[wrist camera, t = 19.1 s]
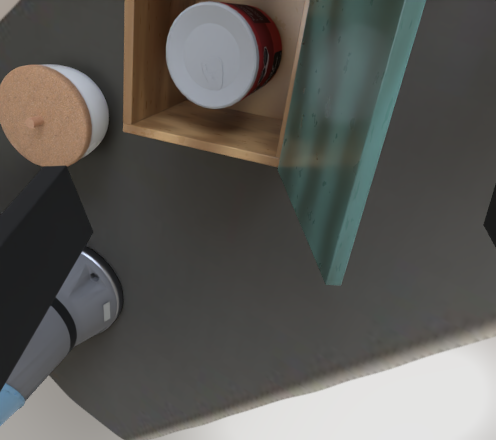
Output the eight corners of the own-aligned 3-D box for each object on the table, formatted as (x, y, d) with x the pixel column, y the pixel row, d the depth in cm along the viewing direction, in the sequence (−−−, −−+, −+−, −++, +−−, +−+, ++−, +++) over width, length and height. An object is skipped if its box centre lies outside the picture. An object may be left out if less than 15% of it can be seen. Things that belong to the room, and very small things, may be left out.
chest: (183, 104, 48) (122, 132, 37) (195, -59, 41) (125, -89, 30) (306, 130, 46) (283, 168, 34) (342, -38, 39) (328, -62, 27)
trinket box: (141, 105, 50) (95, 123, 42) (97, 167, 55) (48, 193, 47) (70, 37, 49) (8, 41, 40) (31, 107, 54) (-31, 123, 45)
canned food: (232, 102, 46) (195, 125, 36) (196, 29, 44) (146, 33, 34) (297, 68, 43) (275, 83, 33) (261, -12, 41) (226, -21, 31)
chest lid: (325, 285, 21) (341, 286, 21) (436, -115, 14) (459, -110, 14) (277, 170, 34) (287, 171, 34) (321, -64, 27) (333, -62, 27)
